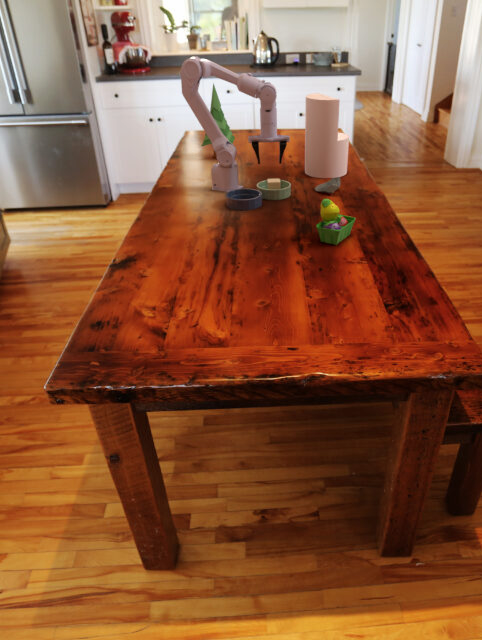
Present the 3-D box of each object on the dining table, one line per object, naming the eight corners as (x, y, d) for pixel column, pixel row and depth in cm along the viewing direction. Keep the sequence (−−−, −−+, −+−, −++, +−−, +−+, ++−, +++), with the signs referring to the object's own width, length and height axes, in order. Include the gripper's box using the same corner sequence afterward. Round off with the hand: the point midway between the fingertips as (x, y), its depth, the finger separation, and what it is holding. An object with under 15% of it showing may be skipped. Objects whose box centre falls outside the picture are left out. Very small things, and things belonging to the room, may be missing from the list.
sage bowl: (251, 198, 173) (250, 187, 171) (267, 188, 182) (266, 177, 180) (281, 203, 168) (281, 191, 166) (296, 193, 177) (296, 182, 175)
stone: (319, 200, 174) (346, 191, 173) (316, 189, 172) (343, 180, 171) (315, 193, 183) (341, 184, 182) (312, 183, 181) (338, 174, 180)
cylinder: (316, 180, 190) (318, 101, 174) (297, 169, 203) (298, 94, 187) (354, 174, 196) (360, 97, 180) (334, 164, 209) (337, 91, 193)
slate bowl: (219, 208, 165) (218, 196, 162) (238, 197, 174) (237, 186, 171) (251, 214, 160) (250, 202, 158) (268, 202, 169) (268, 191, 167)
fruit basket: (338, 247, 138) (340, 209, 131) (310, 241, 142) (311, 203, 135) (355, 234, 146) (358, 197, 139) (329, 228, 149) (330, 192, 143)
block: (268, 196, 173) (267, 182, 170) (267, 192, 177) (267, 178, 174) (280, 196, 173) (280, 182, 170) (279, 192, 177) (279, 178, 174)
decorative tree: (199, 161, 214) (191, 85, 196) (210, 152, 226) (203, 80, 209) (229, 162, 212) (224, 85, 194) (238, 153, 224) (234, 80, 207)
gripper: (247, 125, 165) (249, 166, 172) (290, 124, 165) (290, 165, 173) (247, 121, 170) (249, 161, 178) (289, 120, 171) (289, 160, 179)
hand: (269, 163), depth 176 cm, fingers open, 7 cm apart
